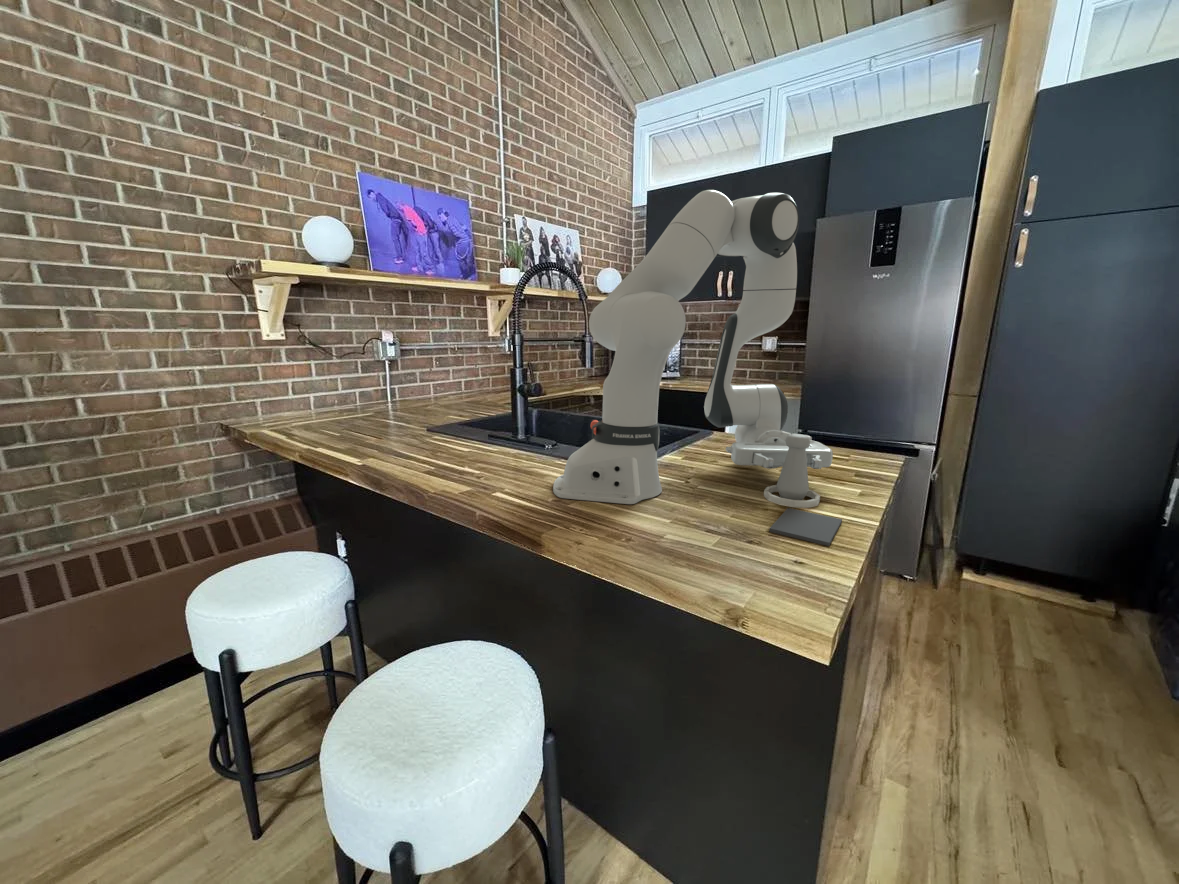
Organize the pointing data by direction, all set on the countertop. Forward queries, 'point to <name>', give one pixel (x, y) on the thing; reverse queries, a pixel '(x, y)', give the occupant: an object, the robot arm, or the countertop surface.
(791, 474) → the salt shaker
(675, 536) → the countertop surface
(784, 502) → the ceramic ring
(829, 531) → the rubber mat
